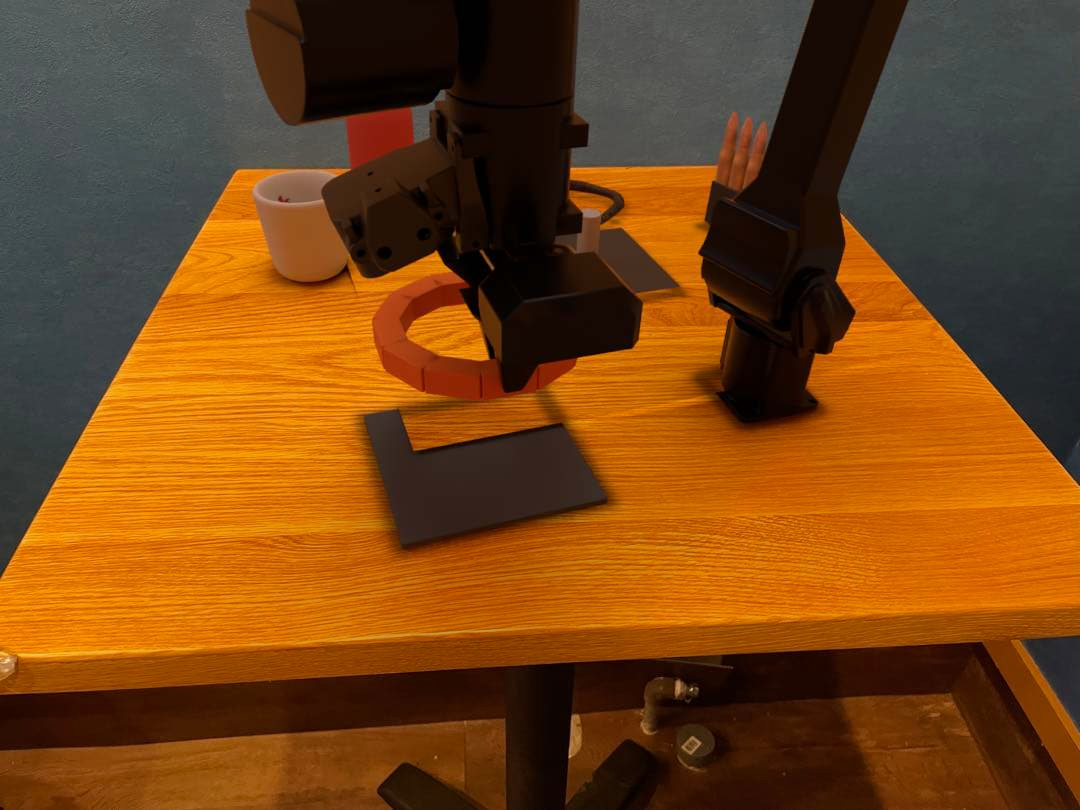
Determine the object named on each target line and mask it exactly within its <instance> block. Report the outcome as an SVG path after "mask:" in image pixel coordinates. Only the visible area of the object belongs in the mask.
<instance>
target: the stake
mask: <svg viewBox="0 0 1080 810" xmlns="http://www.w3.org/2000/svg"><path fill="white" fill-rule="evenodd" d="M580 210H581V211H582V212H583V223H582V233H578V234H570V235H562V236H556V239H555V243H557V244H565V245H569V246H571V247H572V248H573V249H574V250H575V251H576V252H577V253H584V252H592V251H594V252H596V253H597V254H598V255H599V256H600V257H601V258H602V259H603V260H604V261H605V262H606V263H607V264H608V265H609V266H611V267H612V269H613V270H614V271H615V272H616V273H617V274H618V275H619V276H620V277H621V279H622V280H623V281H624V282H625V283H626V284H627V285H628V286H629V287H630V289H631V290H632V291H633V292H634V293H635V294H636V295H637V294H643V293H648V292H655V291H663V290H669V289H675V288H680V287H682V286H681V285H680V284H679V283H678V282H677V281H676V280H675V279H674V278H673V277H672V276H671V275H670V274H669V273H668V272H667V271H666V270H665V269H664V268H663V267H662V266H661V265H660V264H659V263H658V262H657V261H656V260H655V259H654V258H653V257H652V256H651V255H650V254H649V253H648V252H647V251H646V250H645V249H644V248H643V247H642V246H641V245H640V244H639V243H638V242H637V241H636V240H635V239H634V238H633V237H632V236H631V235H630V234H629V233H628V232H627V231H626V230H624V228H623V227H615V228H606V229H601V225H600V223H601V215H602V212H601V211H600V210H598V209H595V208H583V209H580Z"/></svg>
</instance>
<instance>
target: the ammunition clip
mask: <svg viewBox="0 0 1080 810" xmlns="http://www.w3.org/2000/svg"><path fill="white" fill-rule="evenodd" d="M738 132H739V117H738V113H737V111H736V110H734V111H733V112H732V114H731V115H730V118H729V120H728V123H727V125H726V129H725V133H724V137H723V138H724V139H723V140H722V141H723V142H722V146H721V150H720V152H719V154H718V155H719V156H718V160H717V165H716V172H715V178H714V180H712V181H711V184H710V190H709V195H708V201H707V205H706V211H705V215H704V220H703V221H704V222H705V223H708V224H710V222H711V216H712V210H713V207H714V206H715V204H716V203H717V201H718V200H719V199H720V198H722V197H724V198H728V199H733V198H734V197H735V196H736V195H738V194H739V193H740V192H741V191H742V190H743V189H744V188H745V187H746V186H747V185H748V184H749V183H750V182H751V181H752V180H753V179H755V178H756V177H757V175H758V173H759V170H760V168H761V165H762V162H763V159H764V155H765V152H766V149H767V144H768V143H767V142H768V141H767V140H768V127H767V122H766V121H765V120H763V121H762V123H760V125H759V126H758V130H757V132H756V134H755V136H754V137H755V138H754V140H753V120H752V116H750V115H747V118H746V119H745V121H744V122H743V125H742V128H741V130H740V133H738ZM738 134H739V137H738ZM737 140H738V143H737ZM752 140H753V145H752ZM751 146H752V149H751Z"/></svg>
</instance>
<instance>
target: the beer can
mask: <svg viewBox="0 0 1080 810" xmlns="http://www.w3.org/2000/svg"><path fill="white" fill-rule="evenodd" d="M344 119H345V128H346V137H347V146H348V147H347V148H348V155H349V164H350V165H349V167H350V170H352V169H354V168H356V167H358V166H360V165H363V164H365V163H367V162H369V161H371V160H374V159H376V158H378V157H380V156H382V155H384V154H387V153H389V152H391V151H393V150H396V149H398V148H402V147H407V146H410V145H413V144H415V135H414V134H415V133H414V117H413V111H412V107H411V108H405V109H399V110H393V111H386V112H380V113H374V114H368V115H362V116H356V117H349V118H344Z"/></svg>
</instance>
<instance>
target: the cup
mask: <svg viewBox="0 0 1080 810" xmlns="http://www.w3.org/2000/svg"><path fill="white" fill-rule="evenodd" d="M337 176H339V174H338V175H337V174H335V173H332V172H329V171H325V170H324V171H323V170H313V169H299V170H297V169H296V170H289V171H282V172H278V173H275V174H272V175H268V176H266V177H264V178H262V179H260V180H259V181H258V182H256V184H255V185H254V186H253V188H252V193H251V194H252V198H253V202H254V205H255V209H256V212H257V215H258V218H259V223H260V226H261V228H262V232H263V235H264V239H265V242H266V245H267V249H268V252H269V256H270V258H271V261H272V264H273V266H274V268H275V269H276V271H277V272H278V273H279V274H280V275H281V276H282V277H284V278H286V279H289V280H290V281H294V282H295V281H296V282H303V283H315V282H320V281H324V280H328V279H330V278H333V277H335V276H337V275H338V274H340V273H341V272H342V271H343V270H344V269H345V267H346V265H347V263H348V261H349V252H348V251H347V249H346V247H345V245H344V243H343V241H342V240H341V238H340V236H339V234H338V232H337V230H336V229H335V227H334V225H333V223H332V221H331V219H330V217H329V215H328V212H327V209H326V206H325V203H324V200H323V197H322V194H321V190H322V188H323V186H324V185H325V184H326V183H327V182H328V181H330V180H331V179H333V178H335V177H337Z"/></svg>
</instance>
